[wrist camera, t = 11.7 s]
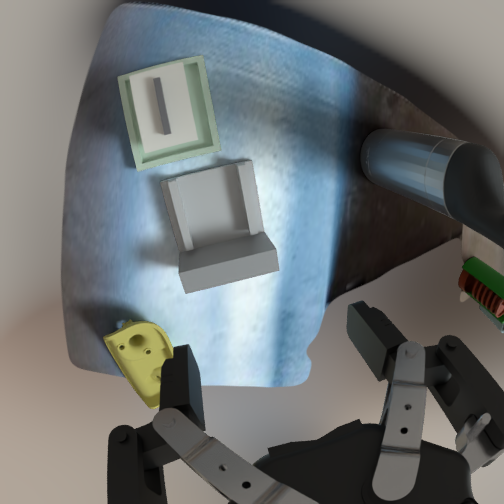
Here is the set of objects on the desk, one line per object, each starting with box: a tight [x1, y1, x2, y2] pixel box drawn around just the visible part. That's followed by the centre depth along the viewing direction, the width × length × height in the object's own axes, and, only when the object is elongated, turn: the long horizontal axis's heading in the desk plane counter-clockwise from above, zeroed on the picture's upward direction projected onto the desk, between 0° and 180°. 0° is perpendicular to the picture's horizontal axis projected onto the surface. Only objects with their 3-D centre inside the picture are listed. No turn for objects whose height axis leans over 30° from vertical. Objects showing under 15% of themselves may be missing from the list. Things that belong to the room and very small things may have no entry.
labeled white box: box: [129, 62, 198, 153], centre depth 27 cm, size 5×8×10 cm, turn 10°
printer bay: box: [160, 160, 279, 294], centre depth 36 cm, size 12×13×7 cm
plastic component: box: [103, 320, 173, 409], centre depth 44 cm, size 20×7×10 cm
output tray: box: [117, 55, 221, 172], centre depth 31 cm, size 11×13×2 cm
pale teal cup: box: [480, 305, 504, 333], centre depth 60 cm, size 10×10×12 cm
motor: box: [458, 257, 504, 324], centre depth 48 cm, size 10×9×20 cm
